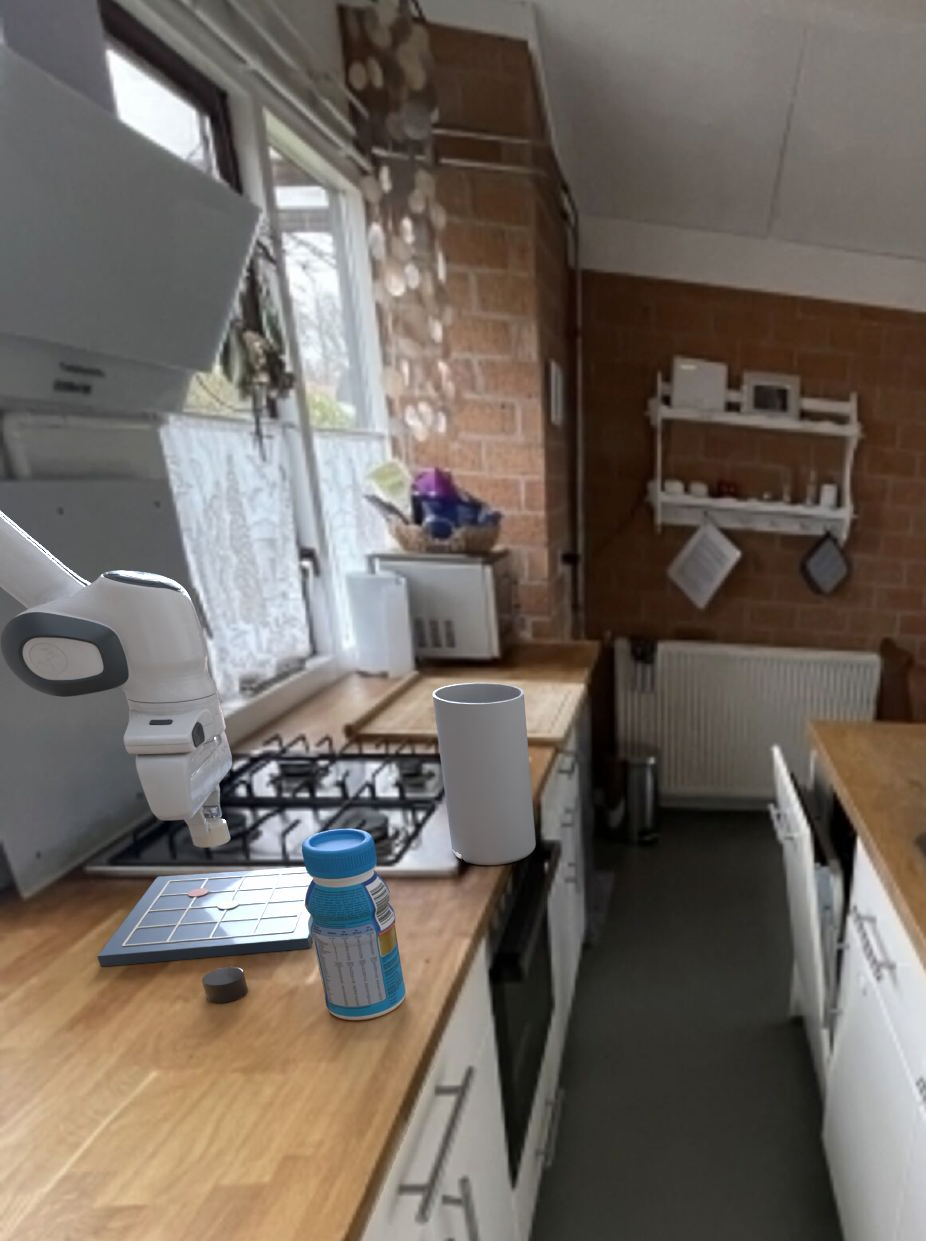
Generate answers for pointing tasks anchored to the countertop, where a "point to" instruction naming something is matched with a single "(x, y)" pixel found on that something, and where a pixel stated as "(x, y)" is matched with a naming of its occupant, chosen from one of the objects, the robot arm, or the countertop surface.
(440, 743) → the cylinder vase
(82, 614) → the robot arm
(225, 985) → the black stone
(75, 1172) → the countertop surface
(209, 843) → the ivory stone
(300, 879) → the board
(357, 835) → the beverage bottle
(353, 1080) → the countertop surface
